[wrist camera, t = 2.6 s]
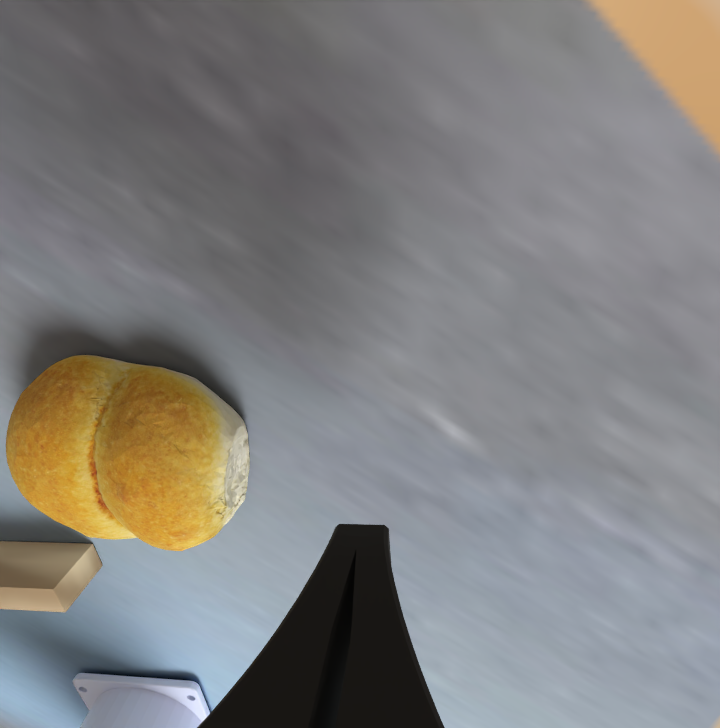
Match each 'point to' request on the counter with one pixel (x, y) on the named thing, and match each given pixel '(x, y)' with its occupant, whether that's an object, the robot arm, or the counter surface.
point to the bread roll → (128, 452)
